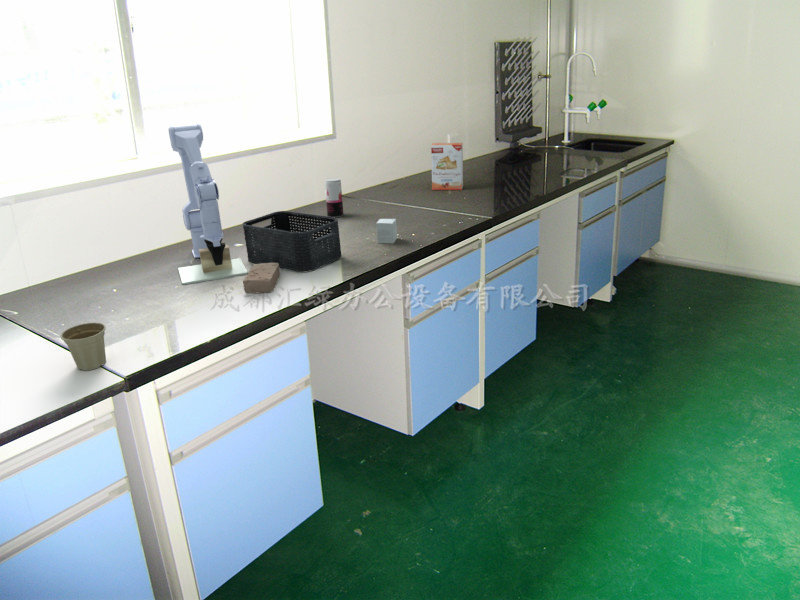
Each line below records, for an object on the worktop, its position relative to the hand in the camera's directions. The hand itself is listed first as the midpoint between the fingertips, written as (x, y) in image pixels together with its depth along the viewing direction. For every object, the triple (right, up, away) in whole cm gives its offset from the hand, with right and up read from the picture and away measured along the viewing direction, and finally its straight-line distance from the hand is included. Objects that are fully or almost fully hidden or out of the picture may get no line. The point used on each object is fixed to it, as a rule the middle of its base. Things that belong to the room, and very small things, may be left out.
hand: (217, 262), depth 209 cm
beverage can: (+32, +22, +59) cm, 71 cm away
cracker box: (+80, +39, +96) cm, 131 cm away
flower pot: (-13, -27, -57) cm, 65 cm away
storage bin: (+23, +1, +9) cm, 25 cm away
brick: (+17, -8, -12) cm, 22 cm away
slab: (0, -2, +1) cm, 2 cm away
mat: (-2, -3, 0) cm, 3 cm away
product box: (+54, +9, +23) cm, 59 cm away
